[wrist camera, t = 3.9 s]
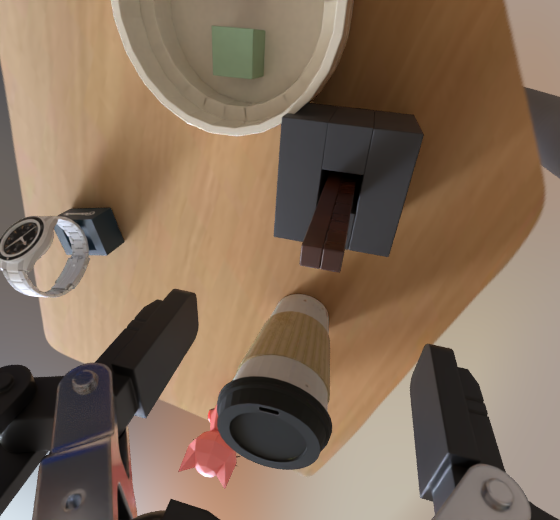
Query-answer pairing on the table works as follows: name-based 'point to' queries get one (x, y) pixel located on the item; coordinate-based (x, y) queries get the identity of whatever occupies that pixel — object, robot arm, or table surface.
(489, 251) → the table surface
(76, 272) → the watch
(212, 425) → the cat figurine
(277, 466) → the coffee cup
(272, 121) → the bowl
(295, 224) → the stand
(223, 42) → the sage block
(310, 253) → the chopsticks
